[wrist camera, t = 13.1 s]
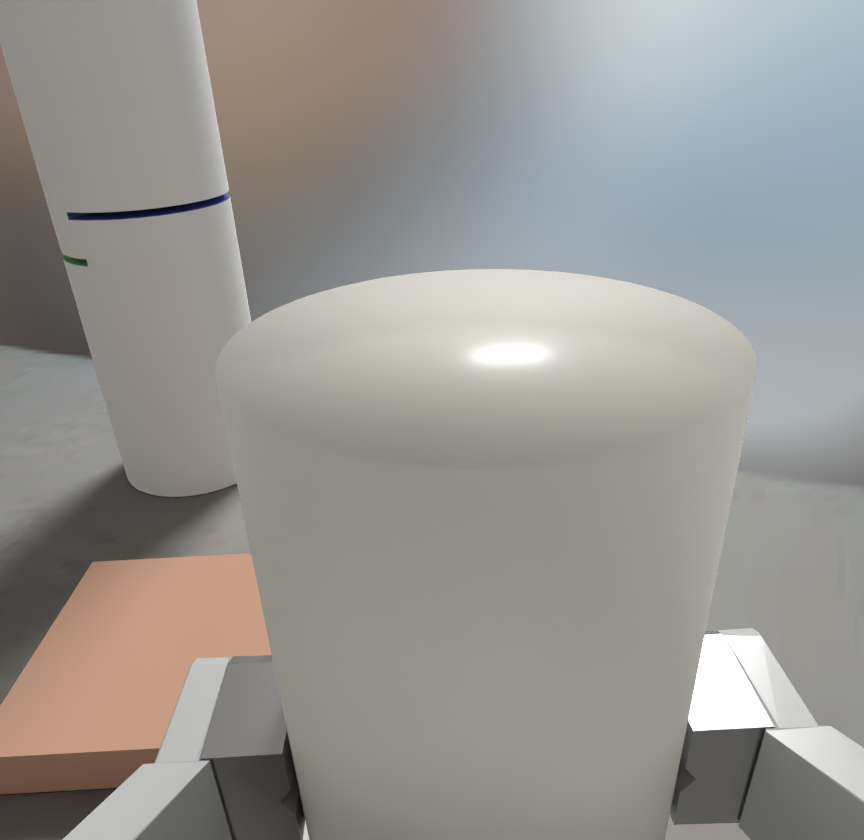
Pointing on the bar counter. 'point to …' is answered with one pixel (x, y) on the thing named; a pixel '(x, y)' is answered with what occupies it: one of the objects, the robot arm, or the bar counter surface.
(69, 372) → the bar counter surface
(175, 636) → the terracotta pad
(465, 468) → the white rounded-top cylinder
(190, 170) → the cylindrical container
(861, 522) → the bar counter surface
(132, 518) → the bar counter surface
